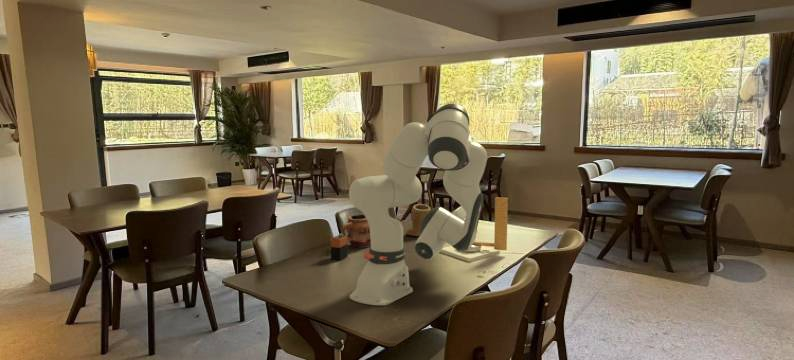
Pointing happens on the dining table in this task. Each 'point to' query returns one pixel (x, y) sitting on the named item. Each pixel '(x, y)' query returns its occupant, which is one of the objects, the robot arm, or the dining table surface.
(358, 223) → the decorative planter
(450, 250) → the base plate
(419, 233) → the stone cup
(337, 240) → the battery
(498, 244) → the orange post with disc
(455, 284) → the dining table surface
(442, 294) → the dining table surface
